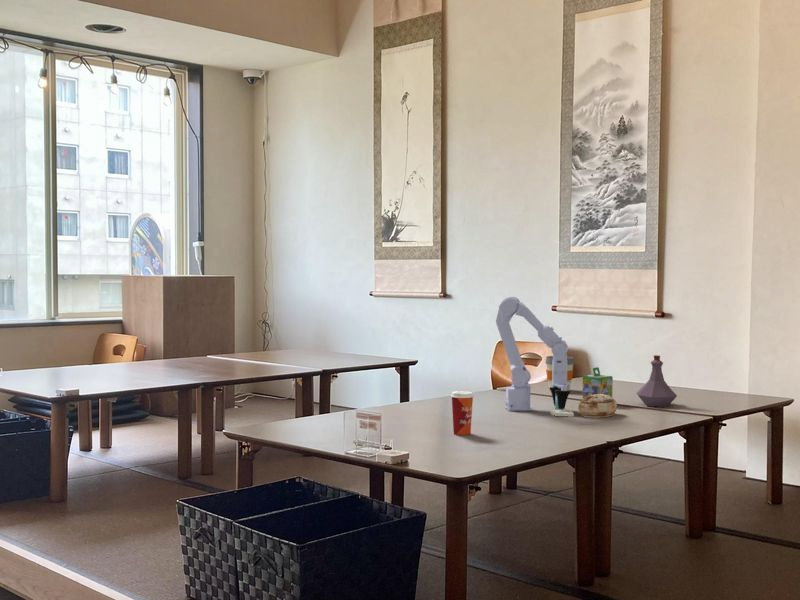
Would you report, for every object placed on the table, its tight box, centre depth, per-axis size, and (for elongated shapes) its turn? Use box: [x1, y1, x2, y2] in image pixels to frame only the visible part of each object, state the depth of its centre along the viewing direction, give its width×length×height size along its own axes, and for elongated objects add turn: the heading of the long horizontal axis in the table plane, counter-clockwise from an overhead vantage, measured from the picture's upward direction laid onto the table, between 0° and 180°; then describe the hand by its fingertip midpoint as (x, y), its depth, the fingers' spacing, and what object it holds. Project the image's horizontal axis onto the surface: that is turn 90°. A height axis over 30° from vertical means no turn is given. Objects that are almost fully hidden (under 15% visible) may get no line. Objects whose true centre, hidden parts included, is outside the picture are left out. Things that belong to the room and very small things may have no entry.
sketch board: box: [549, 409, 575, 417], centre depth 345 cm, size 7×8×1 cm
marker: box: [554, 393, 564, 410], centre depth 353 cm, size 3×3×7 cm
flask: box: [635, 354, 678, 407], centre depth 369 cm, size 16×16×20 cm
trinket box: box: [578, 394, 618, 419], centre depth 345 cm, size 13×15×8 cm
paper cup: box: [450, 390, 474, 436], centre depth 306 cm, size 8×8×14 cm
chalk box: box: [582, 366, 614, 399], centre depth 372 cm, size 9×9×15 cm
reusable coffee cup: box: [545, 355, 575, 392], centre depth 410 cm, size 13×13×15 cm
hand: (559, 407), depth 354 cm, fingers open, 7 cm apart
